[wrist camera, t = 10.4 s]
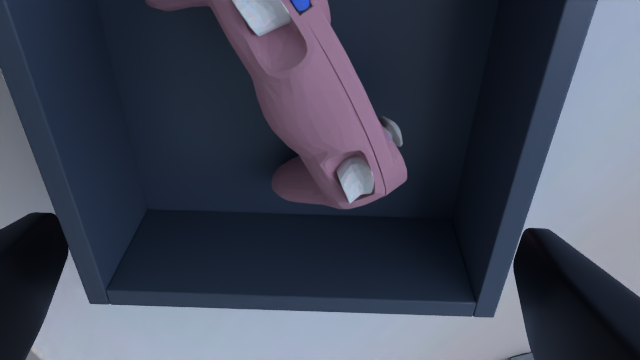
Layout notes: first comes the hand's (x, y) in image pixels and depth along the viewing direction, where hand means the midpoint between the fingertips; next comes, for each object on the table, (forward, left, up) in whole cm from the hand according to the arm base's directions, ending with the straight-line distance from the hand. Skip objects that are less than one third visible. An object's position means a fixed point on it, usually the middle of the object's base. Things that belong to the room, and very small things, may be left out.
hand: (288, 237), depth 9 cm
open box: (+1, +1, -11) cm, 11 cm away
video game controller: (+1, 0, -11) cm, 11 cm away
